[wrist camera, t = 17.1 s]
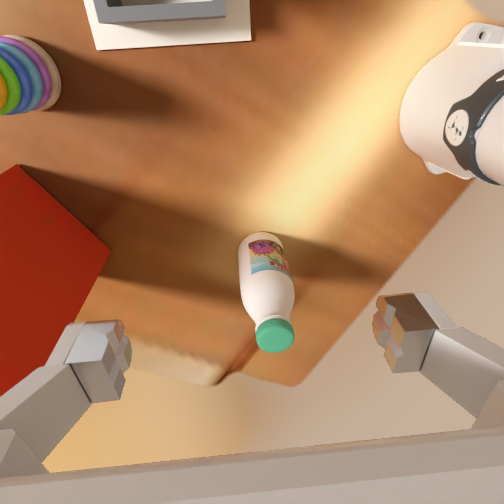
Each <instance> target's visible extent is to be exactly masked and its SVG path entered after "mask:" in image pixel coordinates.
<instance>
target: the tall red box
mask: <svg viewBox="0 0 504 504" xmlns="http://www.w3.org/2000/svg"><path fill="white" fill-rule="evenodd" d="M110 252H111V250H110V249H109V248H108V247H107V246H106V245H105V244H104V243H103V242H102V241H101V240H99V239H98V238H97V237H96V236H95V235H94V234H93V233H92V232H91V231H90V230H88V229H87V228H86V227H85V226H84V225H83V224H82V223H81V222H80V221H79V220H78V219H76V218H75V217H74V216H73V215H72V214H71V213H70V212H69V211H68V210H67V209H65V208H64V207H63V206H62V205H61V204H60V203H59V202H58V201H57V200H56V199H55V198H53V197H52V196H51V195H50V194H49V193H48V192H47V191H46V190H45V189H44V188H42V187H41V186H40V185H39V184H38V183H37V182H36V181H35V180H34V179H33V178H32V177H30V176H29V175H28V174H27V173H26V172H25V171H24V170H23V169H22V168H21V167H19V166H18V165H17V164H16V165H15V166H13V167H11V168H10V169H8V170H7V171H5V172H4V173H2V174H0V397H1V396H2V395H4V394H5V393H6V392H7V391H9V390H10V389H11V388H13V387H14V386H15V385H17V384H18V383H19V382H20V381H22V380H23V379H24V378H26V377H27V376H28V375H30V374H31V373H32V372H33V371H35V370H36V369H37V368H39V367H44V366H45V364H46V363H47V361H48V359H49V357H50V355H51V353H52V352H53V350H54V348H55V346H56V344H57V342H58V341H59V339H60V337H61V335H62V333H63V331H64V329H65V328H66V326H67V325H69V324H70V323H74V321H75V319H76V317H77V315H78V313H79V311H80V309H81V307H82V306H83V304H84V302H85V300H86V298H87V296H88V294H89V292H90V290H91V288H92V287H93V285H94V283H95V281H96V279H97V277H98V275H99V273H100V271H101V270H102V268H103V266H104V264H105V262H106V260H107V258H108V256H109V254H110Z"/></svg>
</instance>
